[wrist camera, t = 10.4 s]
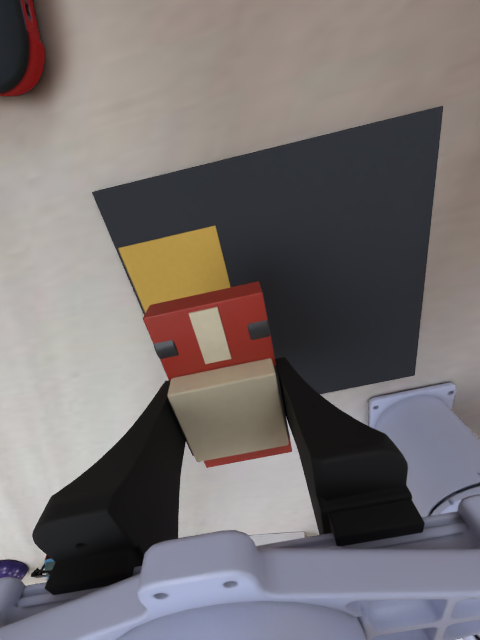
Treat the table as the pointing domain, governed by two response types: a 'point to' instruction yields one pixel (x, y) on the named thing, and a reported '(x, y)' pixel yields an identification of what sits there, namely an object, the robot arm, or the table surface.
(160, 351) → the car
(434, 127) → the play mat
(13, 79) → the game console
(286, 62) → the table surface
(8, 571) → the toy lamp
